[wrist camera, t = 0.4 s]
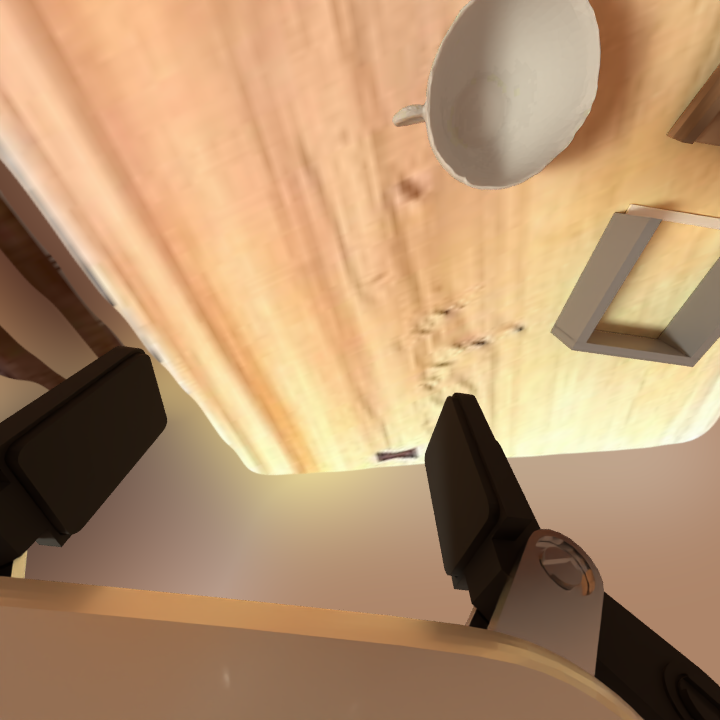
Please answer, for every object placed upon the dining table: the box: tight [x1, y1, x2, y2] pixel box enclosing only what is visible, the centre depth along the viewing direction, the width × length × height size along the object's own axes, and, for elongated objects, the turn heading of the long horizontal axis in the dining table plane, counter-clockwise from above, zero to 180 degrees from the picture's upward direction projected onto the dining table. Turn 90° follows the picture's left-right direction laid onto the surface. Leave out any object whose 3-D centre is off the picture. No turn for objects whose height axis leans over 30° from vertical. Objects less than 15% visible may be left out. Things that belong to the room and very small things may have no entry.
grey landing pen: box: [551, 204, 720, 367], centre depth 35 cm, size 16×16×5 cm
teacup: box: [392, 0, 601, 190], centre depth 25 cm, size 15×12×8 cm
